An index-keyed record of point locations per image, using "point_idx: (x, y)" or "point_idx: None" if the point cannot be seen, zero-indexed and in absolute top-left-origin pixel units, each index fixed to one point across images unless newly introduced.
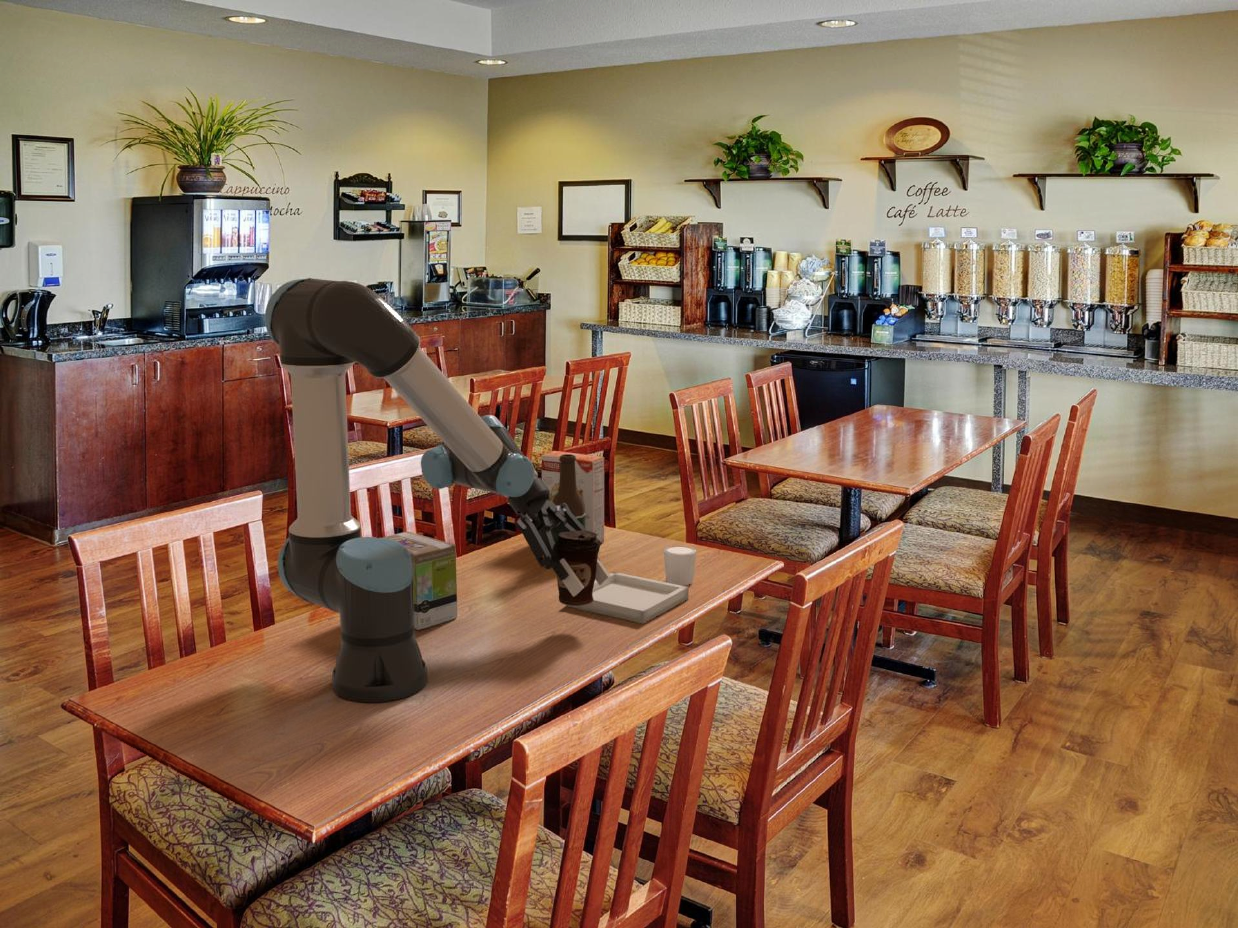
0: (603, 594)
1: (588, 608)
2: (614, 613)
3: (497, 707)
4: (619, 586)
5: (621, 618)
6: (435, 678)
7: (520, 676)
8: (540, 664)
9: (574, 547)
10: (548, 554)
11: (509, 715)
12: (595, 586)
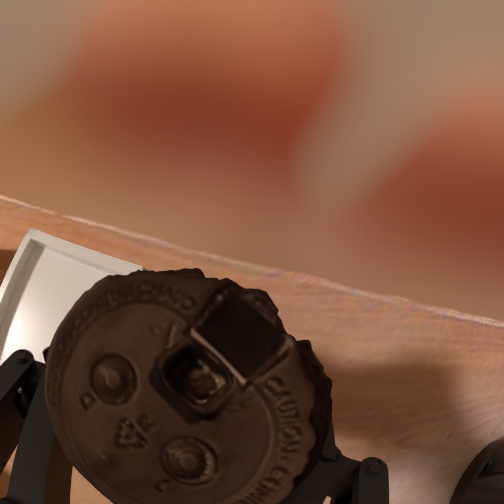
0: None
1: None
2: None
3: (490, 347)
4: (7, 351)
5: None
6: (465, 460)
7: (437, 378)
8: (397, 378)
9: (320, 374)
10: (371, 477)
11: (494, 325)
12: None
